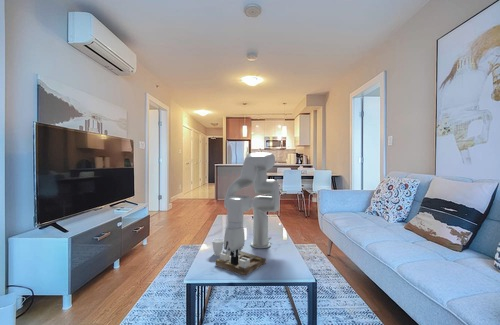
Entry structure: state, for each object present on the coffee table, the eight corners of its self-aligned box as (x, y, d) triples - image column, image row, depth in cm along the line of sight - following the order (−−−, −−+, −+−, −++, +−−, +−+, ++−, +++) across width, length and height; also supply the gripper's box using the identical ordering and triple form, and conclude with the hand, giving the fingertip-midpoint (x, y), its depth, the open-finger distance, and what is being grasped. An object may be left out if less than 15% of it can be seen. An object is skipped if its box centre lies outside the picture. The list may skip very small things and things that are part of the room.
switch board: (238, 254, 142) (238, 249, 142) (265, 263, 131) (265, 258, 130) (215, 265, 128) (215, 259, 128) (243, 276, 116) (243, 269, 116)
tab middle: (234, 261, 128) (234, 252, 128) (239, 263, 126) (239, 254, 126) (229, 264, 125) (229, 254, 125) (234, 266, 123) (234, 256, 123)
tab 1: (225, 258, 132) (225, 249, 132) (230, 260, 130) (230, 251, 130) (219, 261, 129) (220, 251, 129) (224, 262, 127) (224, 253, 127)
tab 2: (244, 265, 124) (244, 255, 124) (249, 267, 122) (249, 257, 122) (239, 268, 121) (239, 258, 121) (244, 270, 119) (244, 260, 119)
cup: (213, 251, 147) (213, 238, 147) (230, 252, 146) (230, 239, 145) (210, 256, 140) (210, 241, 140) (227, 257, 139) (227, 242, 139)
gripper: (239, 220, 124) (238, 257, 124) (217, 226, 112) (217, 267, 112) (251, 223, 119) (250, 261, 119) (230, 229, 107) (229, 271, 107)
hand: (234, 264), depth 115 cm, fingers closed
